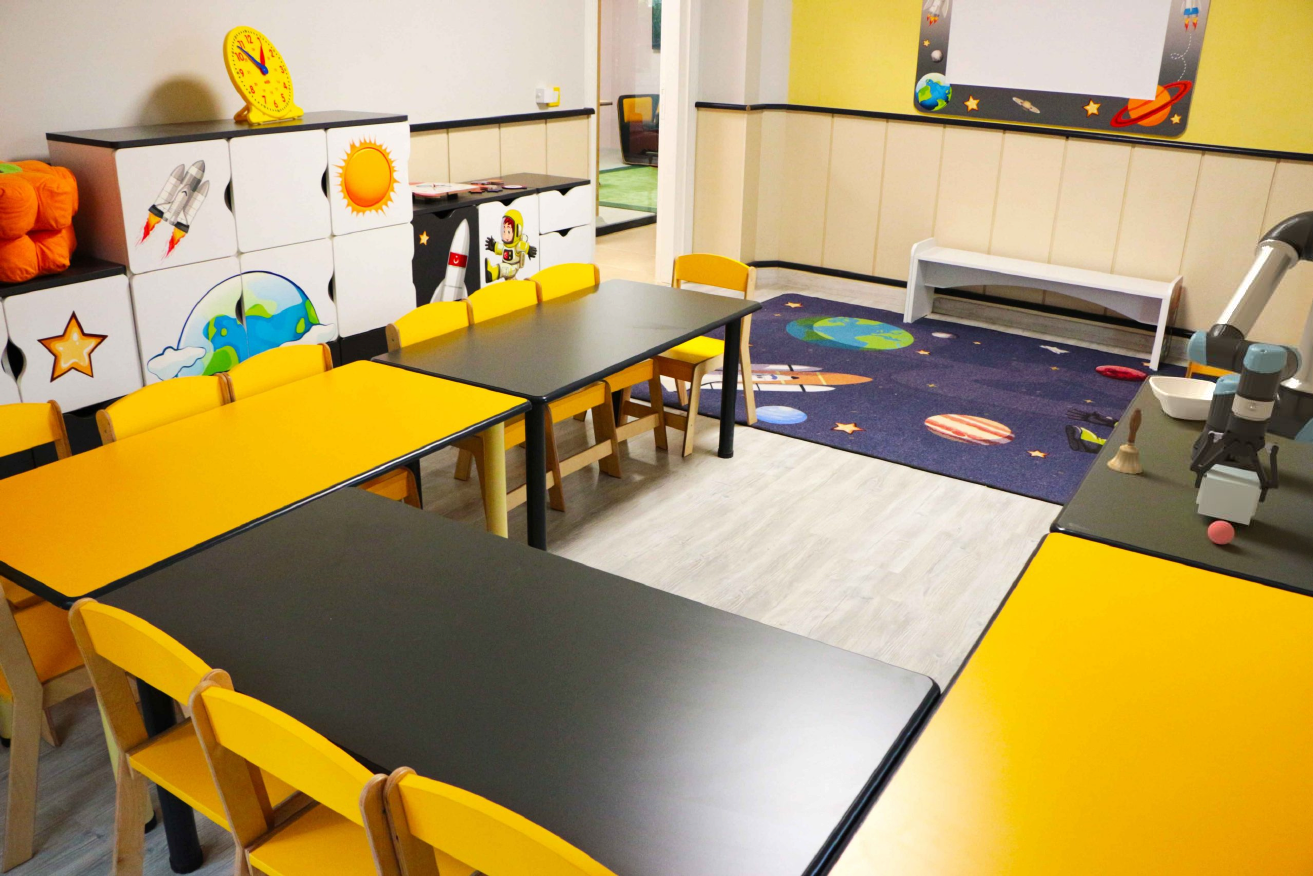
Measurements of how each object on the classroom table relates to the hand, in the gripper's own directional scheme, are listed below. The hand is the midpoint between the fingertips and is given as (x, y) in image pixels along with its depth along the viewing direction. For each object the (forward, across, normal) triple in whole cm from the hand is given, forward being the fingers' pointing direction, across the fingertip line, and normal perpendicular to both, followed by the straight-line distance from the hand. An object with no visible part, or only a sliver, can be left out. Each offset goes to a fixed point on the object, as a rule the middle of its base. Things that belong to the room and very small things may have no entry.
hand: (1224, 507), depth 229 cm
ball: (0, 0, -14) cm, 15 cm away
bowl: (+3, -14, +74) cm, 75 cm away
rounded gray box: (+1, 0, 0) cm, 1 cm away
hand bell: (+3, -23, +20) cm, 30 cm away
